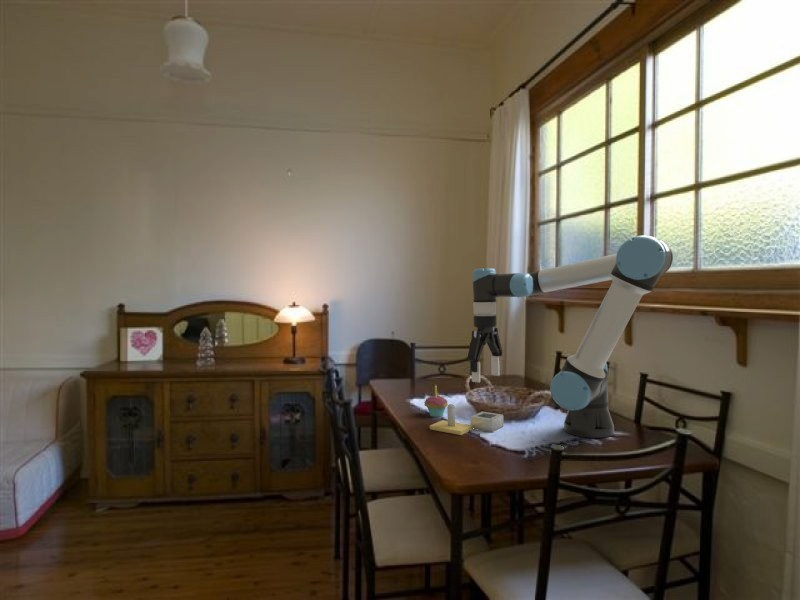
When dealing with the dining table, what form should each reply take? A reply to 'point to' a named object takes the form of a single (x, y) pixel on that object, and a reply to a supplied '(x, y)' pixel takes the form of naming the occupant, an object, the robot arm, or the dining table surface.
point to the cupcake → (436, 404)
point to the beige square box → (487, 421)
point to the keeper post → (451, 424)
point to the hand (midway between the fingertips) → (486, 378)
